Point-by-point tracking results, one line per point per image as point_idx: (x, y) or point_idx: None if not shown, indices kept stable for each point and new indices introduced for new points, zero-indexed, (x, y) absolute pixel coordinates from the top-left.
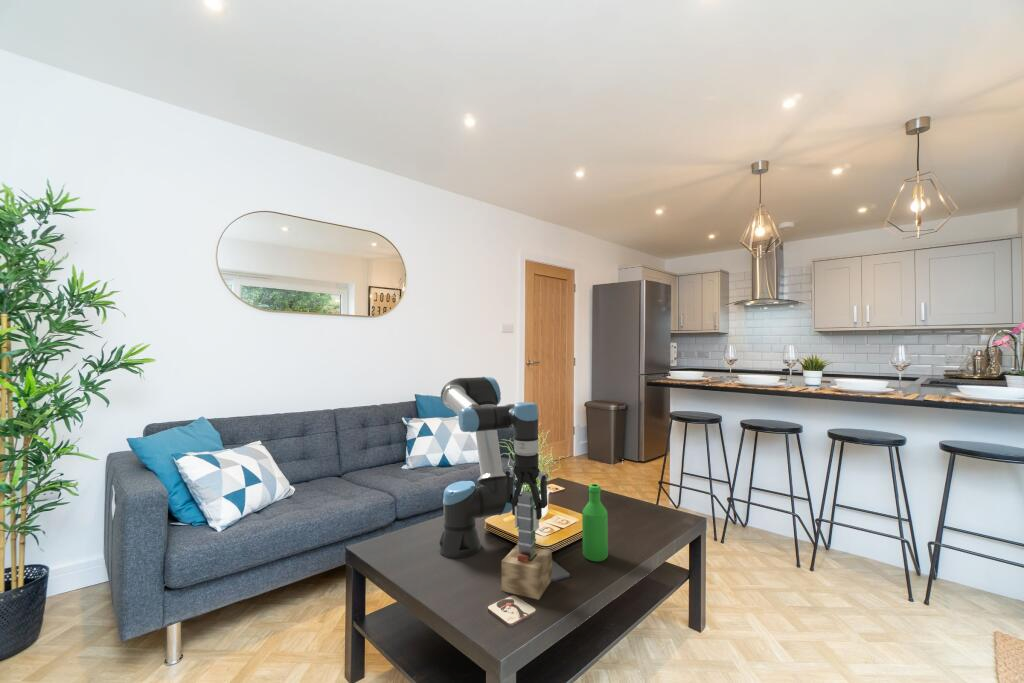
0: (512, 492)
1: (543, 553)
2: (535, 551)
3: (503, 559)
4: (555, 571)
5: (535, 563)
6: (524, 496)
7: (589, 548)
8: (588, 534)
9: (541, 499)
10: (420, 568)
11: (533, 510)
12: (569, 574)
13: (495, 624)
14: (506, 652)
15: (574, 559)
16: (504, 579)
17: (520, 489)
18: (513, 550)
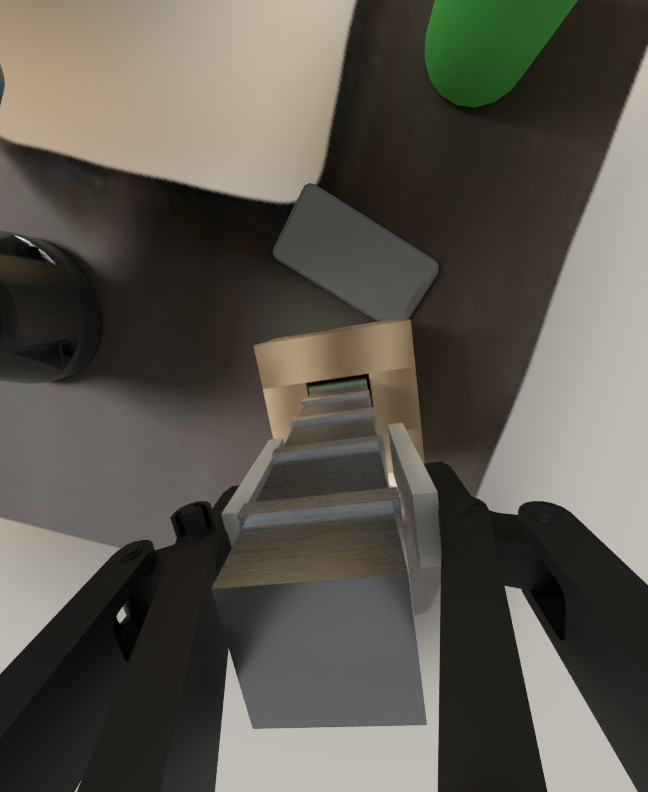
0: (101, 636)
1: (388, 356)
2: (364, 383)
3: None
4: (386, 274)
5: None
6: (334, 717)
7: (489, 74)
8: (518, 14)
9: (577, 671)
10: (55, 463)
11: (419, 559)
12: (437, 267)
13: None
14: (429, 604)
15: (406, 134)
16: None
17: (195, 726)
18: (272, 397)
